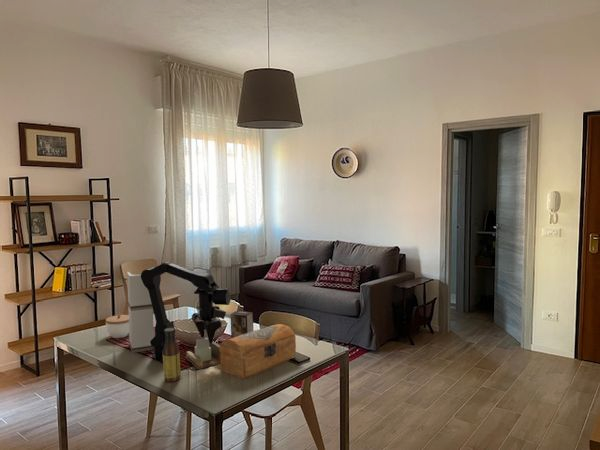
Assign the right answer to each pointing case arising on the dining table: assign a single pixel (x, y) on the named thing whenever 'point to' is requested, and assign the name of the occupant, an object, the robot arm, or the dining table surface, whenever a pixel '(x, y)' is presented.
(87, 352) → the dining table surface
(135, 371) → the dining table surface
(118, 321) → the lidded bowl
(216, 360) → the cleat board
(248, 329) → the coffee box
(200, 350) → the cabinet block
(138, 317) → the stacked white boxes
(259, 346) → the wooden box
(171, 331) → the sauce bottle
